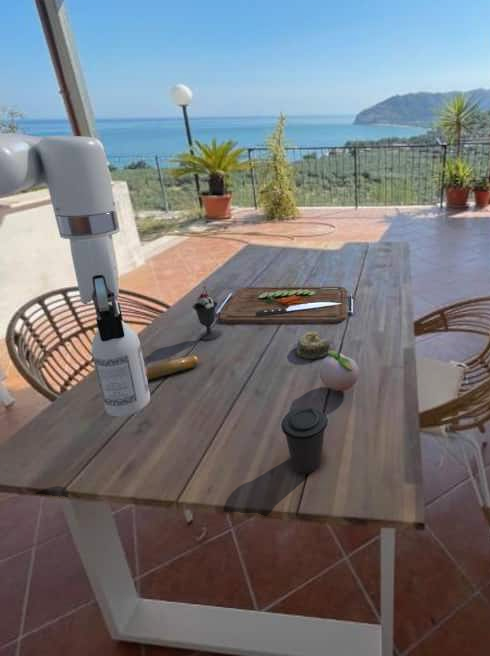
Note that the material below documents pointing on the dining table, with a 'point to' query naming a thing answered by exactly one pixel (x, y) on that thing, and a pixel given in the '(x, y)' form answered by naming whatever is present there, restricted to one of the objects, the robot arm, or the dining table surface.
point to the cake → (313, 346)
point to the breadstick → (171, 367)
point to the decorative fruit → (338, 371)
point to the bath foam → (121, 372)
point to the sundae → (206, 314)
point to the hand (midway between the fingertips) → (112, 331)
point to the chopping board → (286, 305)
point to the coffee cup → (305, 437)
